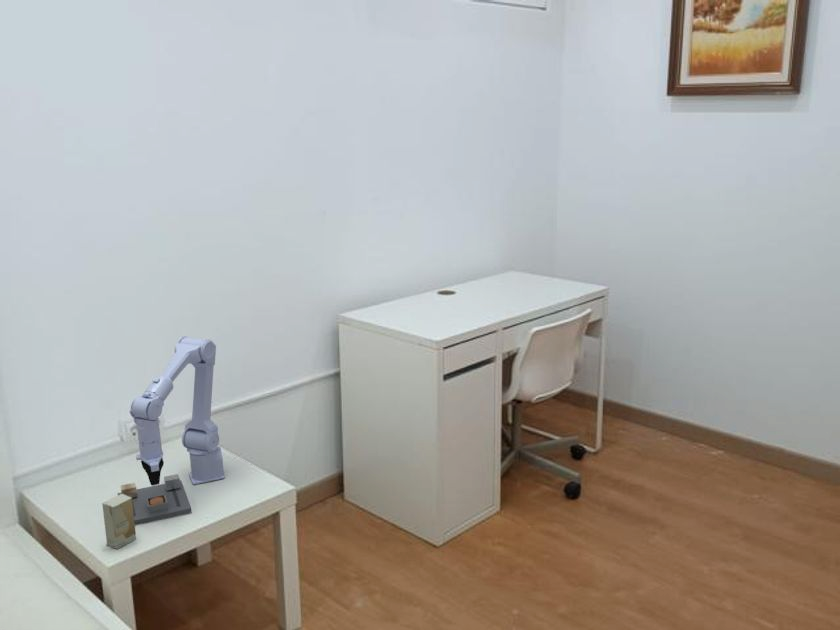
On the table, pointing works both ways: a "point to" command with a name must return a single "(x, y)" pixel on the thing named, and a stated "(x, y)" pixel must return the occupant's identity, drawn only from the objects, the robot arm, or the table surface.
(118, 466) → the table surface
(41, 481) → the table surface
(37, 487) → the table surface
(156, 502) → the push button
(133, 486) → the birch slider
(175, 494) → the control panel
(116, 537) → the skincare box
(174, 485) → the steel slider
